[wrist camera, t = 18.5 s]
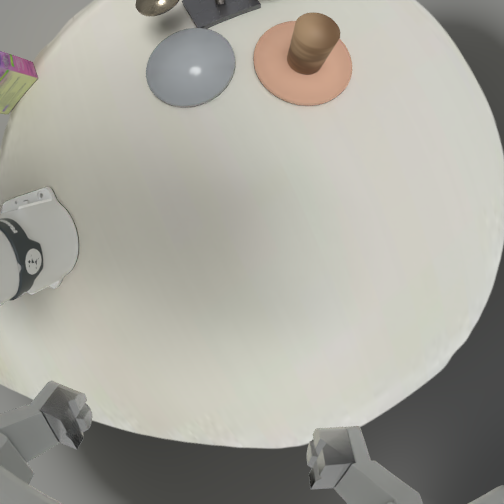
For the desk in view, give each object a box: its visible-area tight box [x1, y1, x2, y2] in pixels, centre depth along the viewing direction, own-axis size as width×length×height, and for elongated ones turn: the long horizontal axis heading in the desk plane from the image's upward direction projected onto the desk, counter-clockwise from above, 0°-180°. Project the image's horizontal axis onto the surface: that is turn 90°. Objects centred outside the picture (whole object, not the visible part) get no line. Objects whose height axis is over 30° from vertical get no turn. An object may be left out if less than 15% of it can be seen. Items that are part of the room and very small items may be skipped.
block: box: [287, 13, 340, 75], centre depth 28 cm, size 5×5×10 cm
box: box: [0, 51, 38, 114], centre depth 28 cm, size 10×6×12 cm, turn 120°
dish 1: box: [146, 28, 235, 107], centre depth 34 cm, size 13×13×1 cm
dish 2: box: [254, 21, 352, 106], centre depth 33 cm, size 14×14×1 cm
